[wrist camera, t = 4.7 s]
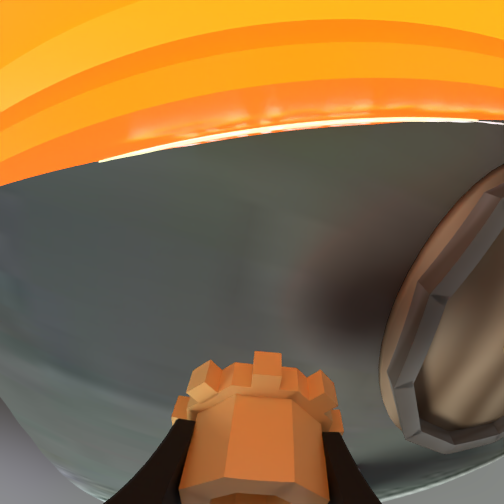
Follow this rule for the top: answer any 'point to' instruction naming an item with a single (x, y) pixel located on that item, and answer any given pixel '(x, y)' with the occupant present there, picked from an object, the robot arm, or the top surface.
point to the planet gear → (257, 433)
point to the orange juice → (232, 72)
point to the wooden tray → (451, 330)
